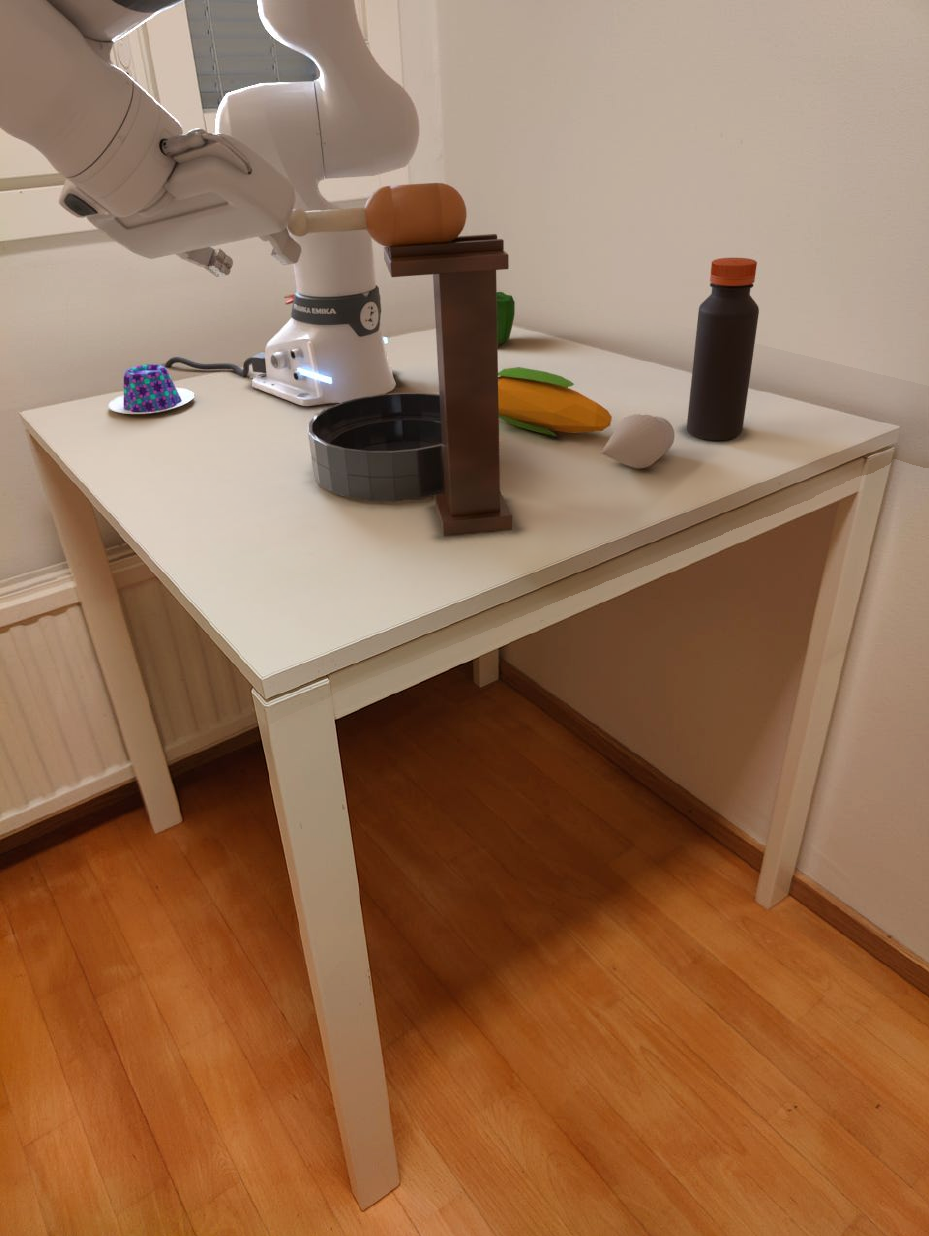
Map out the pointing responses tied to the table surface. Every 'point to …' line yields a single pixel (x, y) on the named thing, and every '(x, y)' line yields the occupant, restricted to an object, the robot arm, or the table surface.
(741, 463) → the table surface
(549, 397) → the corn
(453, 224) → the drumstick
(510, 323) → the bell pepper
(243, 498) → the table surface
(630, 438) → the ice cream cone
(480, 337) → the stand
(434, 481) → the bowl
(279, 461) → the table surface
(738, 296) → the bottle
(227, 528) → the table surface
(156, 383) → the pudding
